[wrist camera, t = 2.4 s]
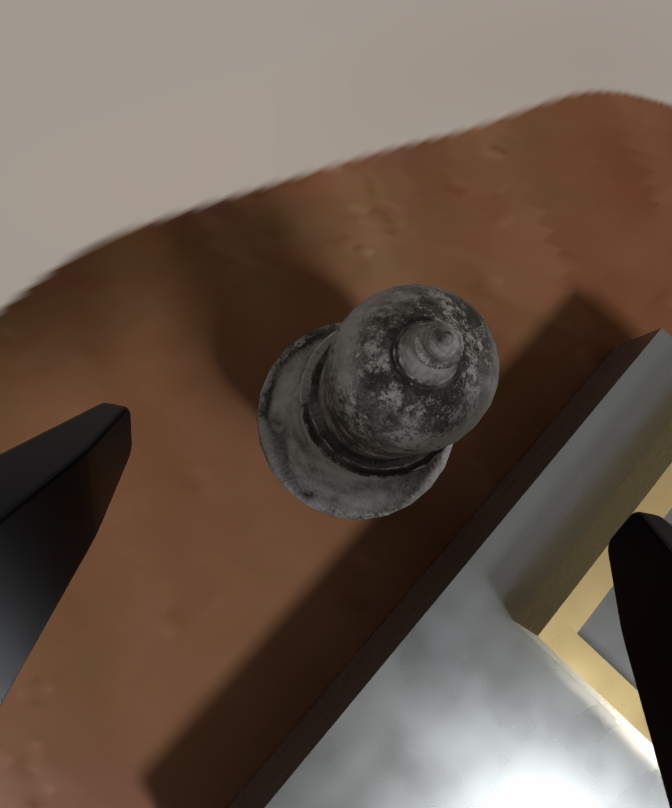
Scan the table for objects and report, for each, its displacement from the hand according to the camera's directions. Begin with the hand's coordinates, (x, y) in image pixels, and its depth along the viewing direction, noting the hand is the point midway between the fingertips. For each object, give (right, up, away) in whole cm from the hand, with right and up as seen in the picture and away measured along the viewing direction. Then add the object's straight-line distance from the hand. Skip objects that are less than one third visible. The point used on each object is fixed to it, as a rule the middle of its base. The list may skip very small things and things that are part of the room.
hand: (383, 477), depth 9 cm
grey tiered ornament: (-1, 0, +10) cm, 10 cm away
